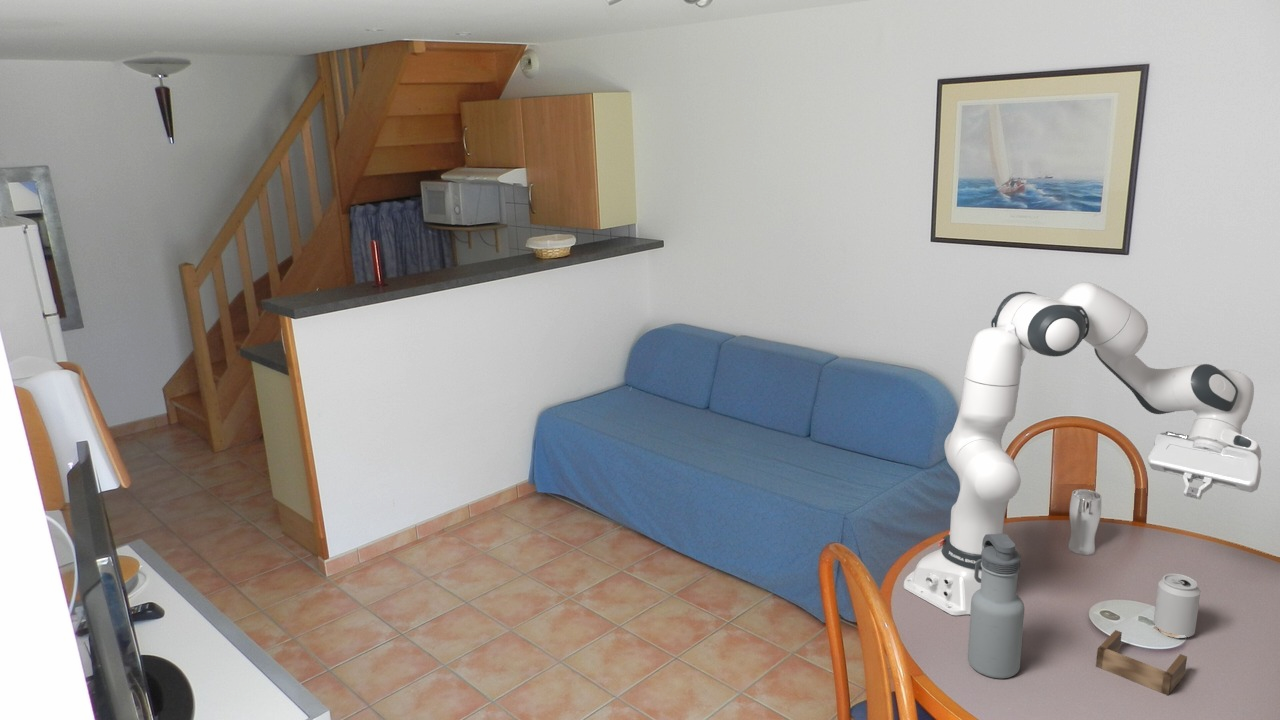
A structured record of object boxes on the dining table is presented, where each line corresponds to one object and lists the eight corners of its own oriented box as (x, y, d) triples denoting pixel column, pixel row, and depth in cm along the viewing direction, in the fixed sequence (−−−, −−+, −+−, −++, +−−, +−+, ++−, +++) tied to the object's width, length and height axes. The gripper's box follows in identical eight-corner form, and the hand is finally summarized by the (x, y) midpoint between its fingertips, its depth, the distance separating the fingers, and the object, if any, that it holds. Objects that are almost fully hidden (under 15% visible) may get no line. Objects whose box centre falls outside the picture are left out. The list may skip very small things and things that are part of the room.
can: (1200, 642, 176) (1208, 590, 173) (1160, 639, 178) (1167, 588, 175) (1186, 622, 183) (1192, 572, 180) (1147, 619, 185) (1153, 570, 182)
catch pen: (1095, 666, 170) (1097, 648, 169) (1113, 647, 176) (1115, 630, 175) (1168, 695, 161) (1170, 677, 160) (1184, 674, 167) (1187, 656, 166)
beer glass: (1098, 546, 216) (1103, 491, 212) (1095, 558, 211) (1101, 502, 207) (1067, 540, 220) (1072, 486, 216) (1064, 552, 214) (1069, 497, 210)
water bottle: (960, 650, 178) (967, 527, 170) (1007, 649, 177) (1016, 526, 170) (977, 681, 168) (985, 552, 160) (1027, 679, 167) (1038, 550, 160)
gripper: (1156, 422, 189) (1135, 476, 186) (1267, 444, 174) (1246, 504, 171) (1161, 436, 193) (1140, 489, 190) (1270, 459, 178) (1249, 517, 175)
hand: (1191, 496), depth 180 cm, fingers closed
